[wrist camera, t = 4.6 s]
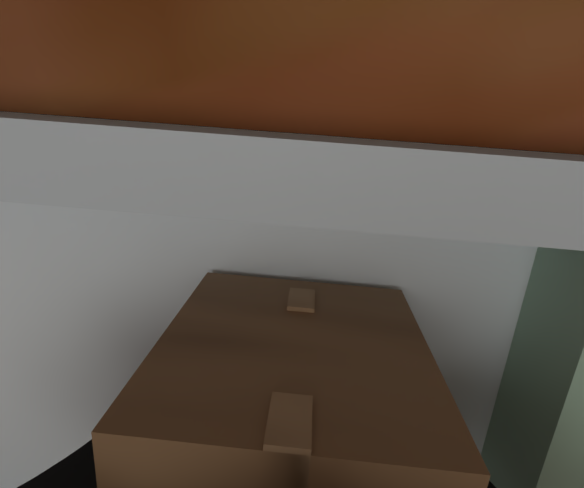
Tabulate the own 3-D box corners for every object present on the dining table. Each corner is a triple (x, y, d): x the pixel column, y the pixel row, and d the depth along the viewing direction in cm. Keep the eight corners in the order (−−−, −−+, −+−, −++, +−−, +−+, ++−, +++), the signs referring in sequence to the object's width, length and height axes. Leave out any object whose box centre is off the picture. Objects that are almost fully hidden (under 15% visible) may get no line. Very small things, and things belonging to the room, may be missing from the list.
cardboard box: (365, 499, 12) (401, 785, 7) (206, 481, 12) (124, 745, 7) (401, 286, 10) (492, 469, 5) (207, 268, 10) (90, 425, 5)
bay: (486, 565, 14) (530, 681, 11) (-173, 488, 15) (-289, 575, 12) (616, 157, 10) (741, 173, 7) (-326, 86, 11) (-563, 75, 8)
